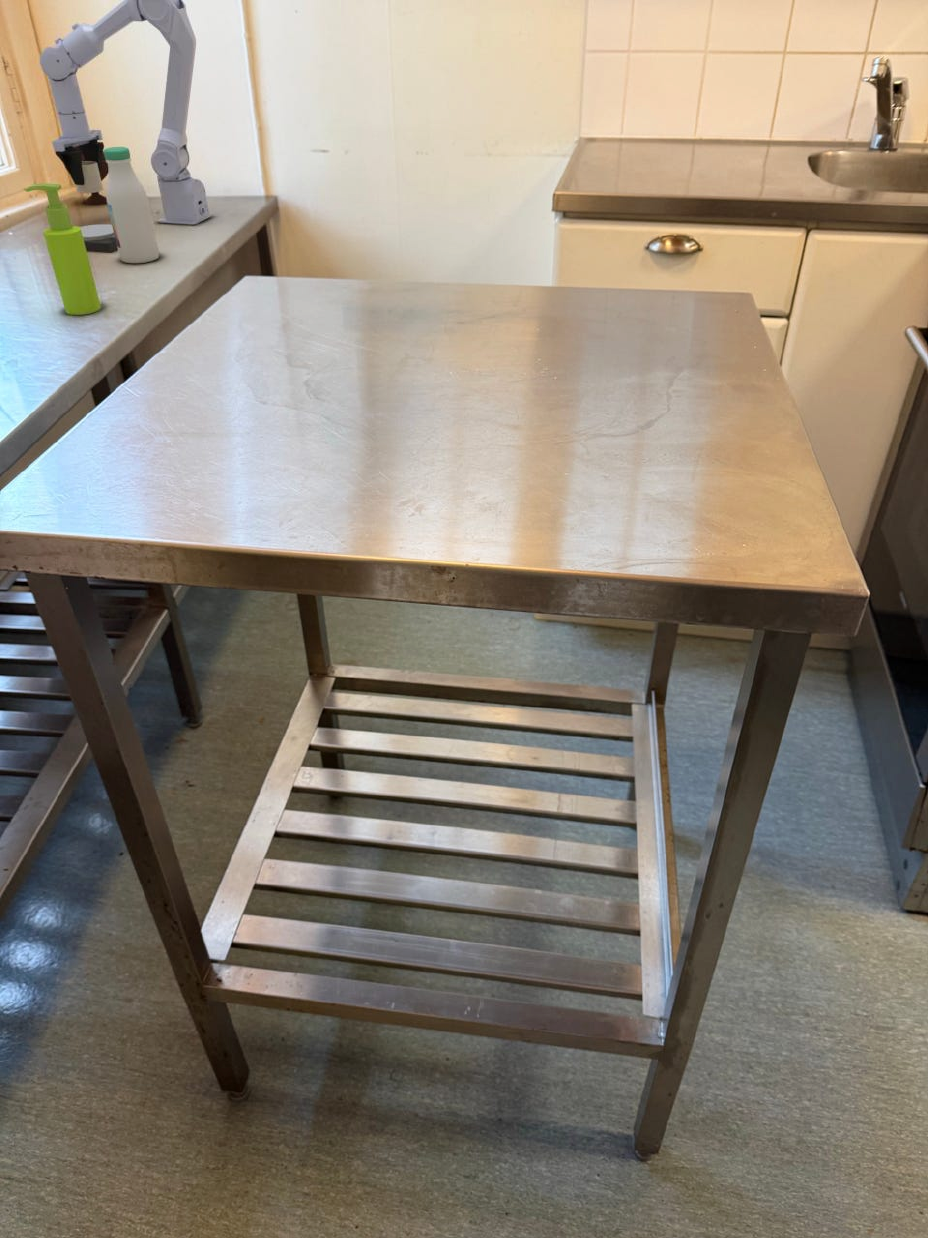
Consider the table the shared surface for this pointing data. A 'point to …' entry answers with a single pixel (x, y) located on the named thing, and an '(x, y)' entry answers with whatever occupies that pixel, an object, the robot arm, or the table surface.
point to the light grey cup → (90, 178)
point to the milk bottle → (129, 209)
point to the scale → (99, 238)
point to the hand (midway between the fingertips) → (88, 181)
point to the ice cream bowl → (96, 197)
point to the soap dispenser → (68, 256)
